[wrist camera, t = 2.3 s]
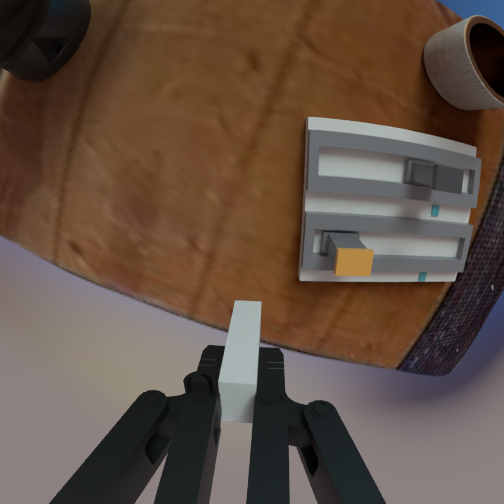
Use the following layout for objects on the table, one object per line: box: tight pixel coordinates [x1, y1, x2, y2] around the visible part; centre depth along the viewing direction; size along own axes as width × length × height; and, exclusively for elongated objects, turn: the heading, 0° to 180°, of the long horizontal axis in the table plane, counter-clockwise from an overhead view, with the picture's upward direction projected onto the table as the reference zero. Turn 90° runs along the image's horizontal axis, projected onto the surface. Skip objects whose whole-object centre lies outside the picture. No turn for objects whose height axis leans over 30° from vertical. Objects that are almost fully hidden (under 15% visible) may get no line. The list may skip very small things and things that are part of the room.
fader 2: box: [404, 160, 464, 194], centre depth 24 cm, size 2×4×6 cm, turn 89°
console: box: [298, 117, 481, 282], centre depth 30 cm, size 18×22×3 cm
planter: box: [424, 15, 504, 110], centre depth 20 cm, size 11×11×10 cm
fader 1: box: [321, 231, 374, 276], centre depth 28 cm, size 2×4×6 cm, turn 89°
